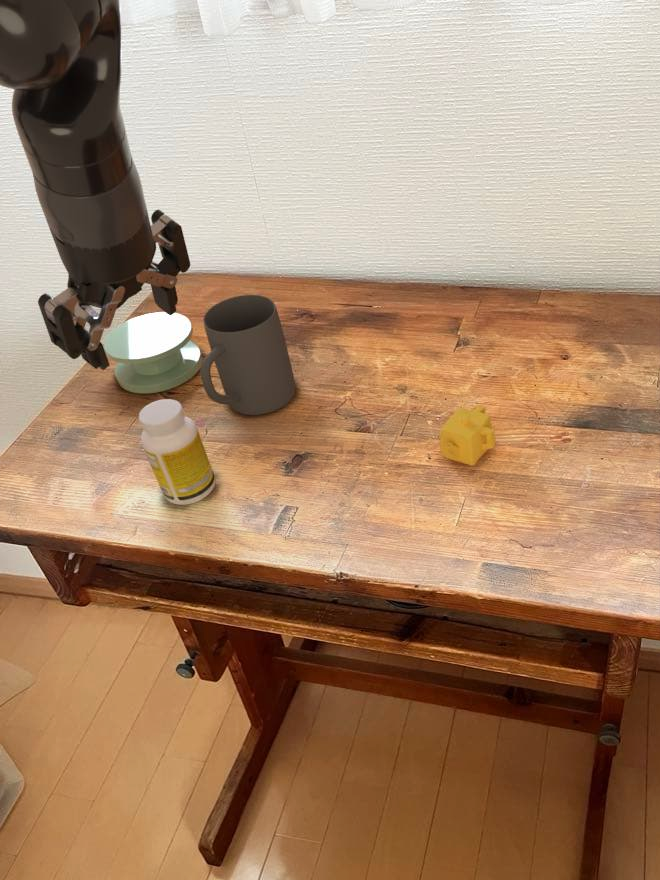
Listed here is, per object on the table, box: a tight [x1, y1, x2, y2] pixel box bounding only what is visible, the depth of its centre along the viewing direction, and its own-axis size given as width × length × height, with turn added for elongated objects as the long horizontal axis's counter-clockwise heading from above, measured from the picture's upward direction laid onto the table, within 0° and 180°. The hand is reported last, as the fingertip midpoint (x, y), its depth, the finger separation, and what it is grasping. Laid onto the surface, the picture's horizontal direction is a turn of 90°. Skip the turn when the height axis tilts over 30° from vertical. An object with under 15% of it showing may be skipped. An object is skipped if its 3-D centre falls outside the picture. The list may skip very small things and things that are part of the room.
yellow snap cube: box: [439, 405, 497, 467], centre depth 93 cm, size 8×6×5 cm
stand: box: [103, 311, 204, 394], centre depth 114 cm, size 12×12×5 cm
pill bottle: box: [138, 398, 216, 506], centre depth 93 cm, size 6×6×11 cm
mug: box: [199, 294, 296, 416], centre depth 103 cm, size 14×9×12 cm
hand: (133, 335), depth 79 cm, fingers open, 8 cm apart
